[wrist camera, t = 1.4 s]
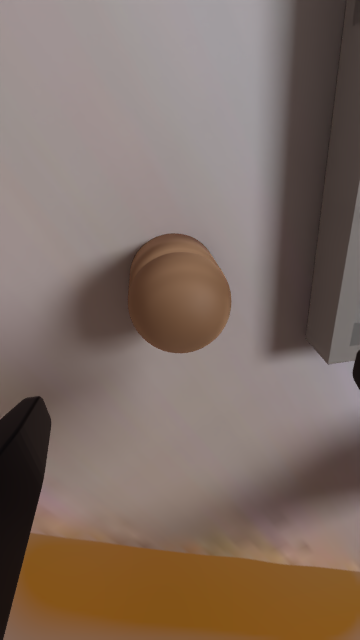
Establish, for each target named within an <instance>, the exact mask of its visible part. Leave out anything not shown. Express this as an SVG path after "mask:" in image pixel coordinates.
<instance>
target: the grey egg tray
mask: <svg viewBox="0 0 360 640" xmlns="http://www.w3.org/2000/svg"><path fill="white" fill-rule="evenodd" d="M306 339H307V341H308V342H309V343H310V344H311V345H312V346H313V348H314V349H315V350H316V351H317V352H318V353H319V355H320V356H321V357H322V358H323V359H324V360H325V362H326V363H327V364H335V363H341V362H348V361H355V359H356V354H357V352H358V351H359V350H360V0H347V2H346V10H345V18H344V26H343V35H342V43H341V51H340V59H339V67H338V76H337V84H336V92H335V100H334V109H333V117H332V125H331V133H330V141H329V150H328V158H327V166H326V174H325V183H324V191H323V199H322V207H321V215H320V224H319V232H318V240H317V248H316V257H315V265H314V273H313V281H312V289H311V298H310V306H309V314H308V322H307V331H306Z"/></svg>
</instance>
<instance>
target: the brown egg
mask: <svg viewBox="0 0 360 640" xmlns="http://www.w3.org/2000/svg"><path fill="white" fill-rule="evenodd" d="M128 309H129V314H130V318H131V320H132V323H133V325H134V327H135V328H136V330H137V331H138V333H139V334H140V335H141V336H142V338H144V339H145V340H146V341H147V342H148V343H150V344H151V345H153V346H154V347H156V348H158V349H161V350H163V351H167V352H172V353H188V352H193V351H196V350H199V349H201V348H203V347H205V346H207V345H208V344H209V343H211V342H212V341H213V340H214V339H216V338H217V337H218V335H219V334H220V333H221V332H222V330H223V329H224V327H225V325H226V323H227V321H228V318H229V315H230V310H231V292H230V288H229V285H228V282H227V280H226V278H225V276H224V274H223V272H222V271H221V269H220V268H219V266H218V265H217V263H216V262H215V260H214V258H213V257H212V255H211V254H210V252H209V251H208V249H207V248H206V247H205V246H204V245H203V244H202V243H201V242H199V241H198V240H196V239H194V238H192V237H190V236H187V235H183V234H175V233H174V234H165V235H161V236H158V237H156V238H153V239H151V240H150V241H148V242H147V243H146V244H145V245H143V246H142V247H141V248H140V250H139V251H138V252H137V254H136V255H135V257H134V259H133V261H132V265H131V269H130V279H129V291H128Z"/></svg>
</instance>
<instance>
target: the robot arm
mask: <svg viewBox="0 0 360 640" xmlns="http://www.w3.org/2000/svg"><path fill="white" fill-rule="evenodd" d="M353 378H354V381H355V382H356V384H357V386H358V388H359V389H360V350H359V351H358V352H357V354H356V359H355V363H354V368H353ZM50 430H51V418H50V415H49V413H48V410H47V408H46V405H45V403H44V401H43V399H42V398H41V397H39V396H36V397H29V398H25V399H23V400H22V401H21V402H20V403H19V404H17V405H16V406H15V407H14V408H13V409H12V410H11V411H10V412H8V413H7V414H6V415H5V416H4V417H3V418H2V419H0V640H3V637H4V634H5V630H6V626H7V622H8V618H9V614H10V610H11V606H12V602H13V599H14V594H15V591H16V587H17V582H18V579H19V574H20V571H21V567H22V563H23V559H24V555H25V551H26V547H27V543H28V539H29V535H30V531H31V528H32V524H33V520H34V516H35V512H36V508H37V504H38V500H39V496H40V492H41V488H42V484H43V479H44V473H45V467H46V459H47V452H48V445H49V438H50Z"/></svg>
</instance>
